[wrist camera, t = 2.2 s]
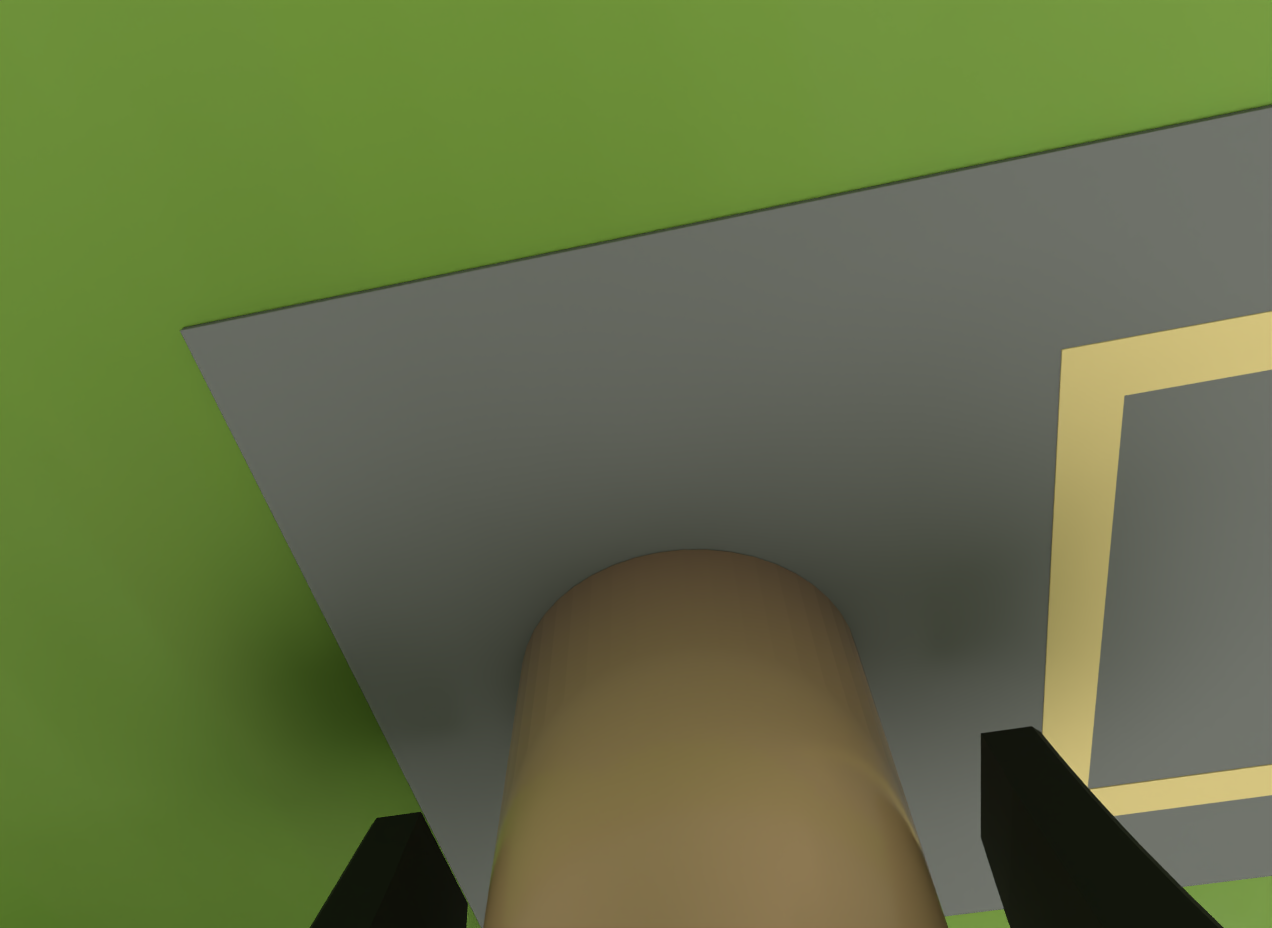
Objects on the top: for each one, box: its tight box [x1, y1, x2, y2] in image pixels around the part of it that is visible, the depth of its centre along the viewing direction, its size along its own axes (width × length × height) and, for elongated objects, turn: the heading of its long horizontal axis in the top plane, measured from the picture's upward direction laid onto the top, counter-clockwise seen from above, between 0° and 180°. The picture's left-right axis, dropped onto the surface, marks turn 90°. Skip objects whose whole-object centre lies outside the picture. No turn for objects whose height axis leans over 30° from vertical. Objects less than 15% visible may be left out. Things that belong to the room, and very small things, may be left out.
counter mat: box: [180, 105, 1272, 928], centre depth 13 cm, size 20×14×1 cm
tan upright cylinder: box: [483, 550, 948, 928], centre depth 11 cm, size 5×5×6 cm
